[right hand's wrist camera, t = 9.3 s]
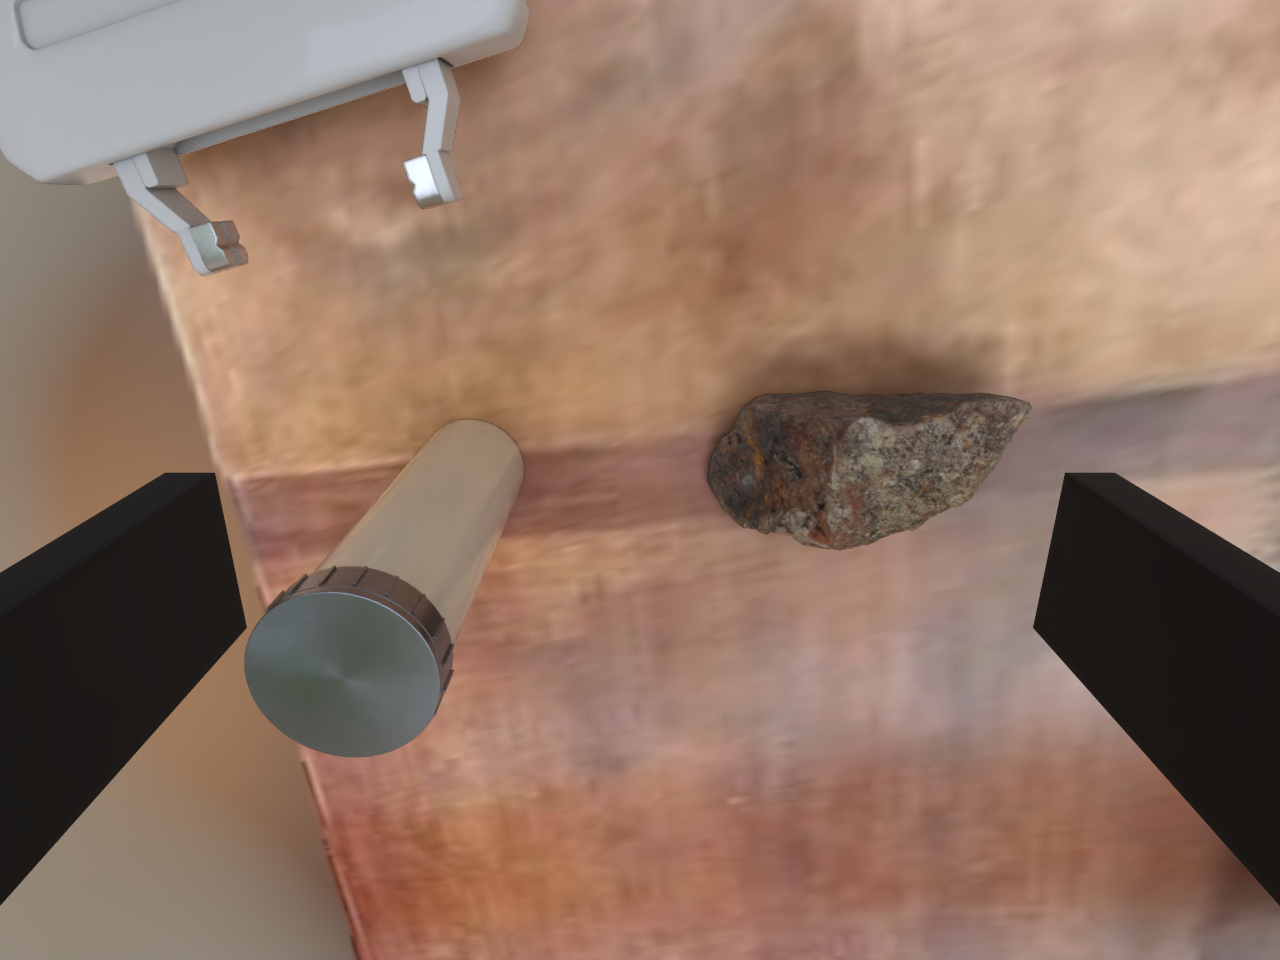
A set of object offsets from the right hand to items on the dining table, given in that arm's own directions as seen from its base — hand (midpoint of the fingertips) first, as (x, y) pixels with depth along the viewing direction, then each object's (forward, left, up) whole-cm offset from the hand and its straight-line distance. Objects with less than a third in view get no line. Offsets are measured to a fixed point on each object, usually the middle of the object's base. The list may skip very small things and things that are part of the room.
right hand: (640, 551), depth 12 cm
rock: (-10, -8, -28) cm, 31 cm away
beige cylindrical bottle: (-6, +11, -28) cm, 31 cm away
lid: (-6, +11, -9) cm, 15 cm away
